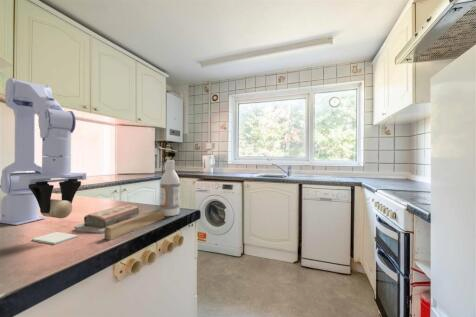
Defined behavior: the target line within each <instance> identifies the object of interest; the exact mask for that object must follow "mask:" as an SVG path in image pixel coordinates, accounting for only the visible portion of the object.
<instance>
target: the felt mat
mask: <svg viewBox="0 0 476 317" xmlns="http://www.w3.org/2000/svg"><path fill="white" fill-rule="evenodd" d="M76 238H79V235H78V234H73V233H66V232H59V231H55V232H52V233H47V234H45V235H41V236H37V237H33V238H32V239H31V241H34V242H40V243H45V244H50V245H58V244H62V243H64V242H68V241H70V240H73V239H76Z"/></svg>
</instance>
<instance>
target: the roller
mask: <svg viewBox="0 0 476 317" xmlns="http://www.w3.org/2000/svg"><path fill="white" fill-rule="evenodd" d="M72 204H73V203H72ZM72 204H71V203H70V202H69V201H65V200H62V199H54V198H51V203H50V213H41V211H40V210H39V212H40V214H41V215H42V217H45V218H46V217H47V218H48V217H49V218H54V219H65V218H67V217H69V215H71V213H72V211H73V205H72Z"/></svg>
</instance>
